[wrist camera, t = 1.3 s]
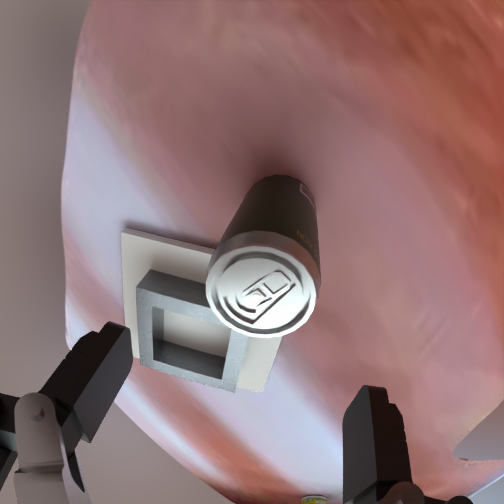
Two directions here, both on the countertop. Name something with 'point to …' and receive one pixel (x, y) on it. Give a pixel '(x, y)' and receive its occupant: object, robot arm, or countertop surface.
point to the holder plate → (180, 326)
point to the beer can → (267, 261)
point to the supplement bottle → (314, 500)
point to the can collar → (176, 356)
